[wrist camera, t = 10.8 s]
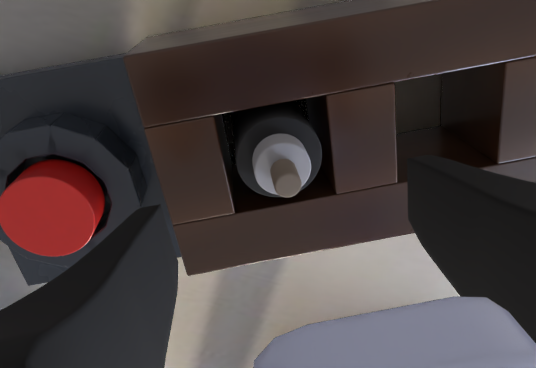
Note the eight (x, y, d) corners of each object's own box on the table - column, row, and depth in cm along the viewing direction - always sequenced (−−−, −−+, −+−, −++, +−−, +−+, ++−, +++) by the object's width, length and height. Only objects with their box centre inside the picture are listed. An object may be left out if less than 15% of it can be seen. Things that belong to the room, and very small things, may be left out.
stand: (486, 162, 23) (550, 207, 18) (193, 216, 23) (187, 276, 18) (498, -27, 19) (585, -28, 14) (145, 36, 19) (121, 56, 14)
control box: (186, 243, 23) (181, 278, 21) (36, 271, 23) (12, 311, 20) (131, 52, 19) (116, 64, 16) (-55, 85, 19) (-101, 103, 16)
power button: (116, 225, 19) (107, 247, 18) (35, 240, 19) (19, 264, 18) (89, 151, 18) (76, 168, 16) (1, 167, 18) (-20, 186, 16)
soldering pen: (303, 142, 21) (341, 219, 15) (239, 154, 21) (247, 236, 15) (295, 78, 20) (332, 130, 13) (226, 90, 20) (228, 149, 13)
